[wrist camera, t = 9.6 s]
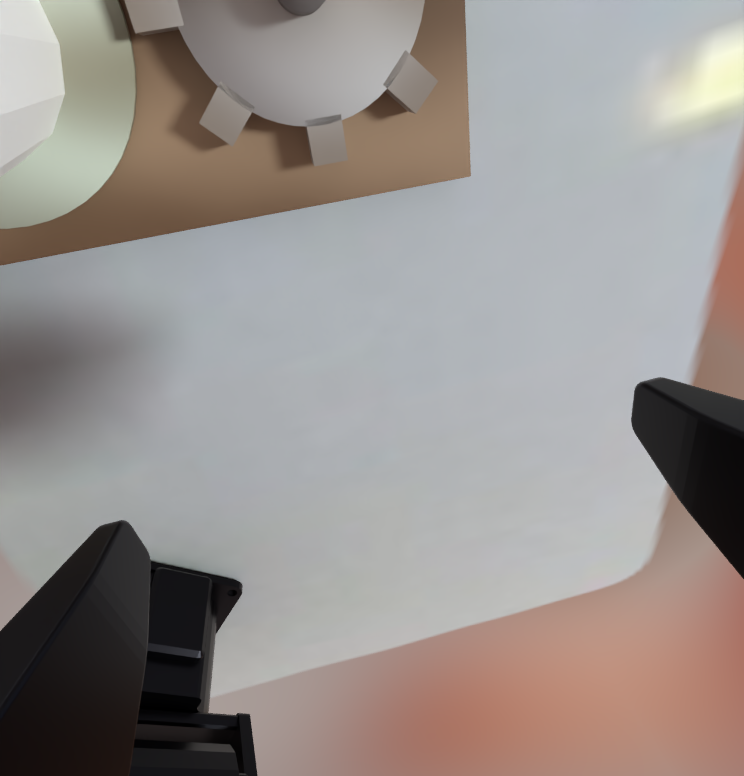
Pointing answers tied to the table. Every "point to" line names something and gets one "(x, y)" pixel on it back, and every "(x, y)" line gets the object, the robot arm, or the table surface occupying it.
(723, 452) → the robot arm
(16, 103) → the shot glass
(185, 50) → the gear board
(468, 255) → the table surface
